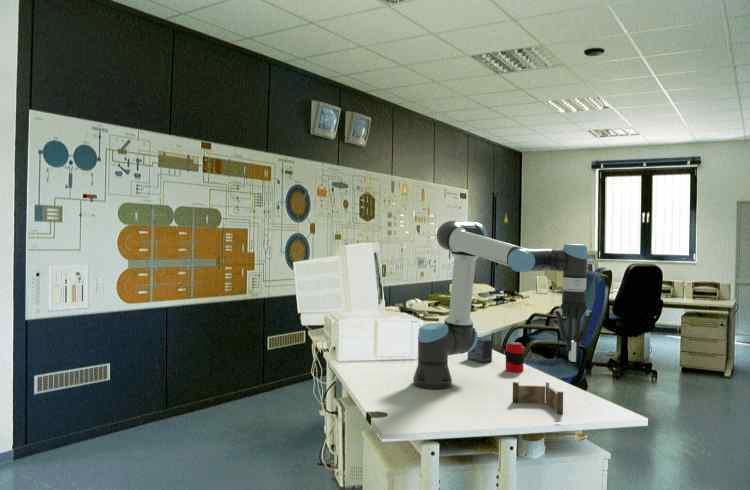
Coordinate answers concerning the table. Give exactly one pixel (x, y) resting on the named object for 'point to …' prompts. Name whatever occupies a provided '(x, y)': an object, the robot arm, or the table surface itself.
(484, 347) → the small box
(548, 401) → the fence gate
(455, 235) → the robot arm
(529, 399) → the fence fixed
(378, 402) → the table surface
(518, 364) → the soda can
